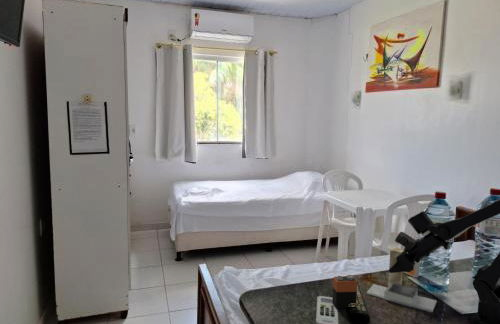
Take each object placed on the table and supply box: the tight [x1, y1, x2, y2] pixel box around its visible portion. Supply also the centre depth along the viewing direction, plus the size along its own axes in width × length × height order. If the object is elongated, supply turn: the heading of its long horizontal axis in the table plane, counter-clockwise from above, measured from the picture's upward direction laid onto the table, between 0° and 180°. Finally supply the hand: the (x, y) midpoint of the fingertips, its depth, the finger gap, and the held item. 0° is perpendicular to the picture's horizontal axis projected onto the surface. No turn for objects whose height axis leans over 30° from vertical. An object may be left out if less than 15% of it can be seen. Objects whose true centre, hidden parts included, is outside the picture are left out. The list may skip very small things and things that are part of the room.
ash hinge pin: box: [387, 247, 404, 287], centre depth 132 cm, size 4×4×14 cm
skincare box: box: [403, 260, 421, 278], centre depth 143 cm, size 6×4×12 cm
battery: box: [331, 274, 358, 309], centre depth 116 cm, size 4×7×10 cm, turn 95°
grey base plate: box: [366, 282, 437, 313], centre depth 122 cm, size 21×9×3 cm, turn 54°
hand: (392, 267), depth 132 cm, fingers open, 9 cm apart
